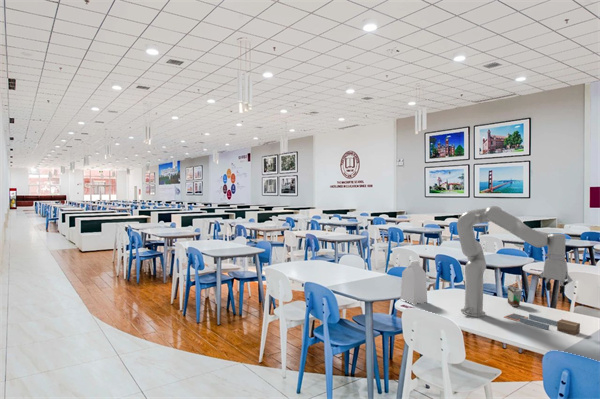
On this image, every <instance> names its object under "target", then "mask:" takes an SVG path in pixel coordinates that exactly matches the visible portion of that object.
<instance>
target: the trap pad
mask: <svg viewBox="0 0 600 399" xmlns="http://www.w3.org/2000/svg"><path fill="white" fill-rule="evenodd" d="M520 317H522V318H526V319H529V316H525V315H521V314H517V313H514V312H513V313H511V314H508V315H505V316H503V318H504V319H508V320H510V321H511V320H512V321H515V322H520Z"/></svg>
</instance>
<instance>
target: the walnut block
mask: <svg viewBox="0 0 600 399" xmlns="http://www.w3.org/2000/svg"><path fill="white" fill-rule="evenodd" d="M556 321H557V320H556ZM556 330H557V331H558V332H561V333H564V334H568V335H571V336H577V335H579V334H580V333H581V332H580V331H581V323H580V322H576V321H571V320H567V319H563V318H561V319H560V320H558V321H557V326H556Z"/></svg>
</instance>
